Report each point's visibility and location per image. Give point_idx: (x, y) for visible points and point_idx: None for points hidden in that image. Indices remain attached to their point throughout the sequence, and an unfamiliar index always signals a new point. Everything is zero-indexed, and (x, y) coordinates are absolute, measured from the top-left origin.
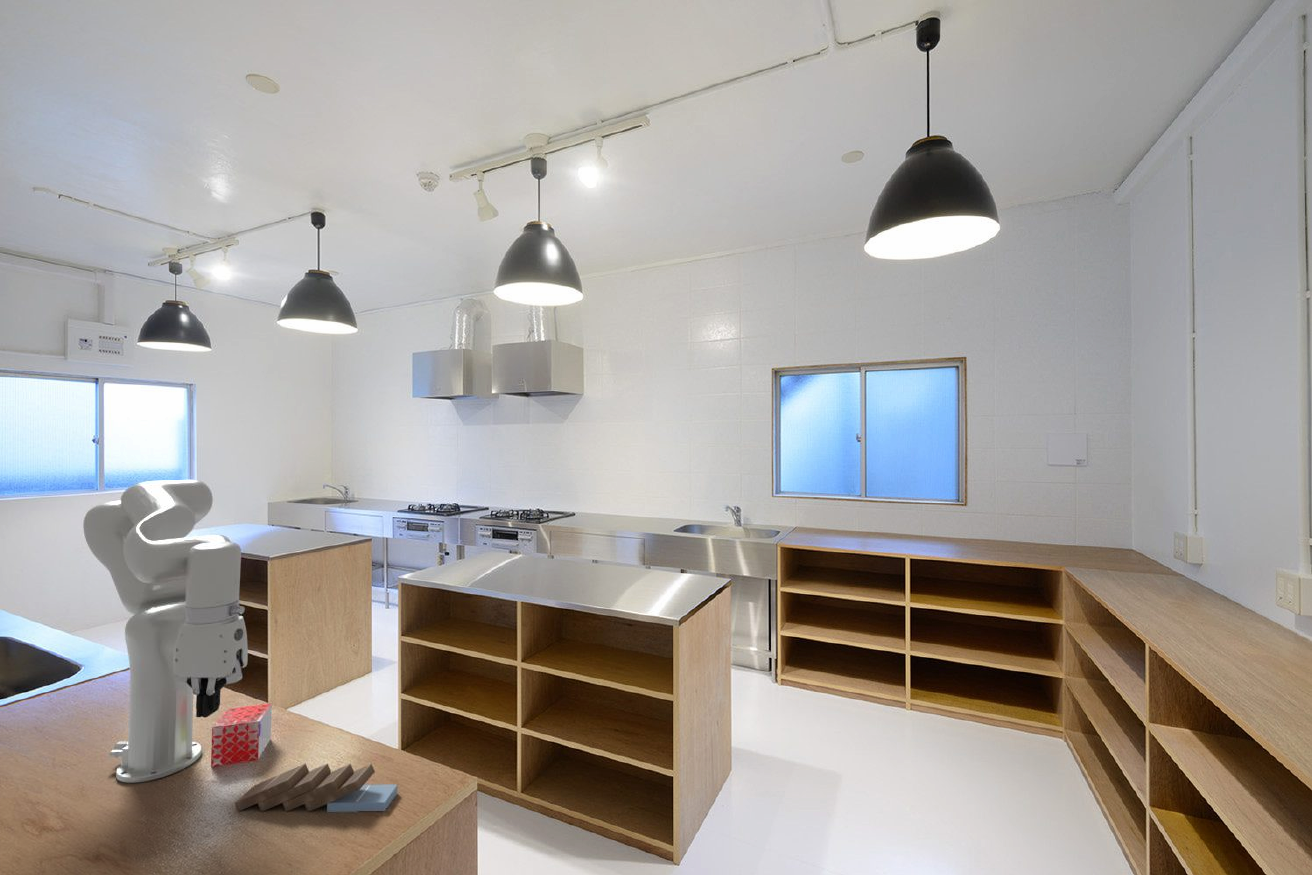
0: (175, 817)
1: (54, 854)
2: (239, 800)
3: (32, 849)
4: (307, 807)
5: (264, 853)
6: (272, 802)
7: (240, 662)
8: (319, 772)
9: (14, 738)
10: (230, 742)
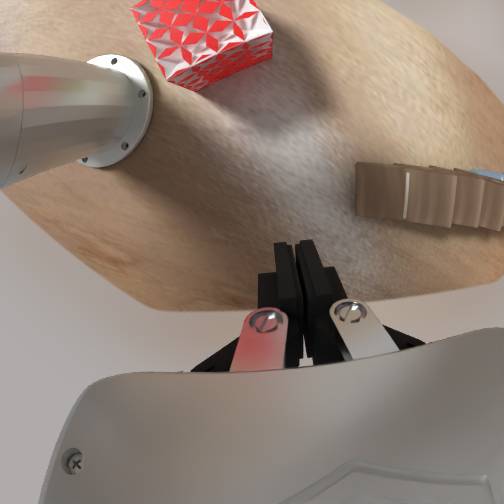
0: (266, 228)
1: (179, 299)
2: (362, 213)
3: (145, 292)
4: None
5: (429, 280)
6: None
7: (501, 350)
8: (481, 205)
9: None
10: (216, 68)
